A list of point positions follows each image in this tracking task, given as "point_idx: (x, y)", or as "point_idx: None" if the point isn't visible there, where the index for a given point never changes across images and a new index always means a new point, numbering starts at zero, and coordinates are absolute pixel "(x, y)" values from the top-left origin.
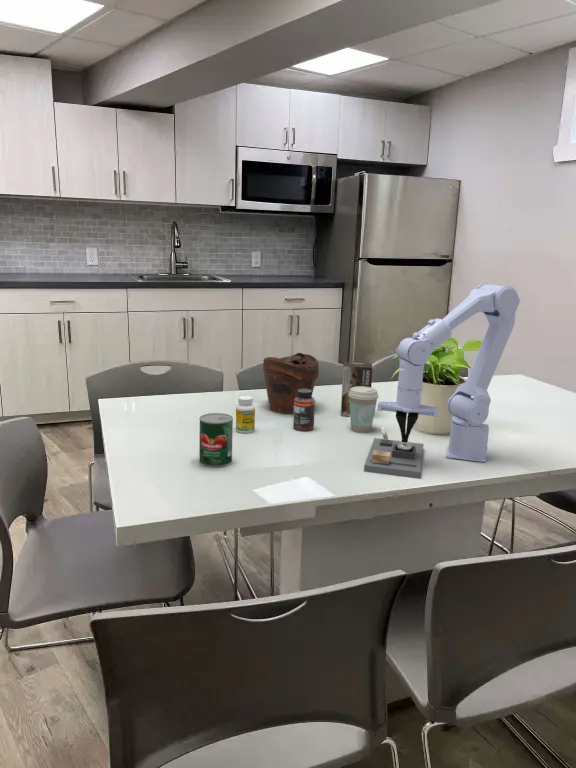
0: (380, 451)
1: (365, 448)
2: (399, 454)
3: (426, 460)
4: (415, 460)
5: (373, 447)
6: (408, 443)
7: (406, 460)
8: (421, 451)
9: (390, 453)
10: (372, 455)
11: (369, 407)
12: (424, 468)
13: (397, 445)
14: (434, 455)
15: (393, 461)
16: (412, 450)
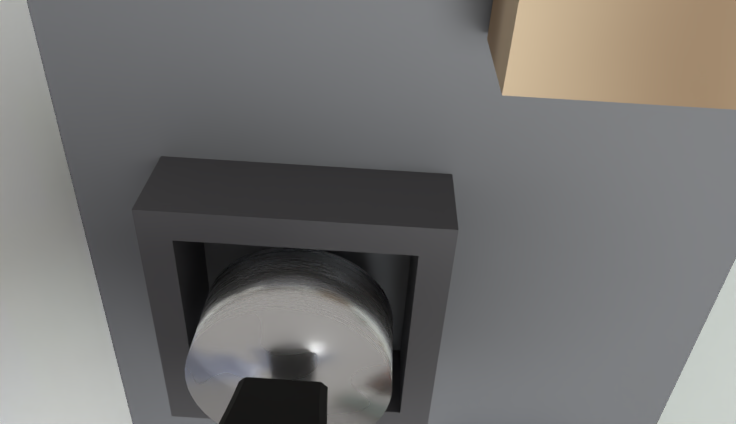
0: (690, 80)
1: (683, 416)
2: (353, 198)
3: (87, 287)
4: (140, 138)
5: (645, 387)
6: None
7: (254, 108)
8: (137, 391)
9: (509, 47)
10: (717, 165)
11: None
12: None
13: (388, 349)
14: (52, 399)
15: (435, 18)
16: None
